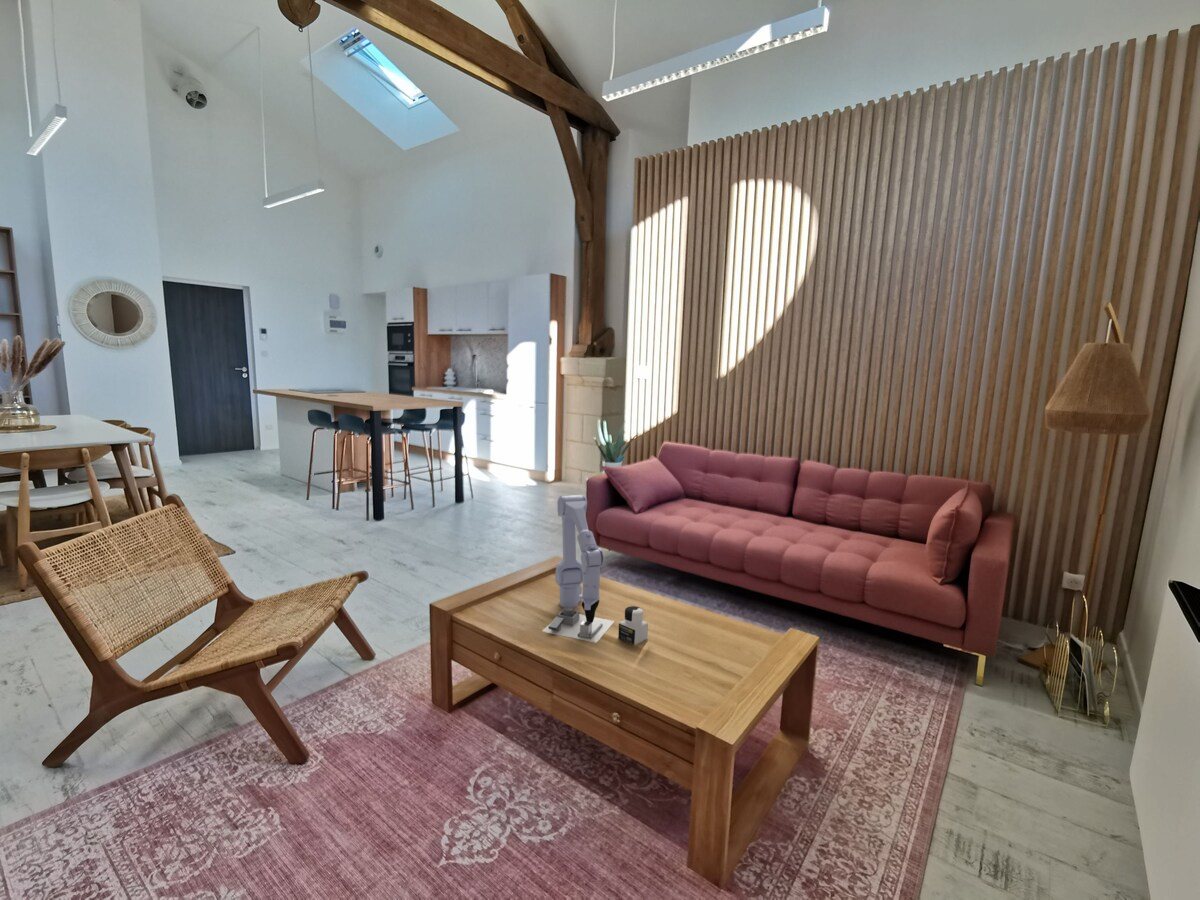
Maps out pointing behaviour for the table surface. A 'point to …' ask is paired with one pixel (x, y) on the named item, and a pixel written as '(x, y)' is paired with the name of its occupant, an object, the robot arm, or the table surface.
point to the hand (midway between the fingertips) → (590, 621)
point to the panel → (572, 627)
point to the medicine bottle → (633, 626)
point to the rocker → (556, 623)
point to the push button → (568, 611)
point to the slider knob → (585, 629)
